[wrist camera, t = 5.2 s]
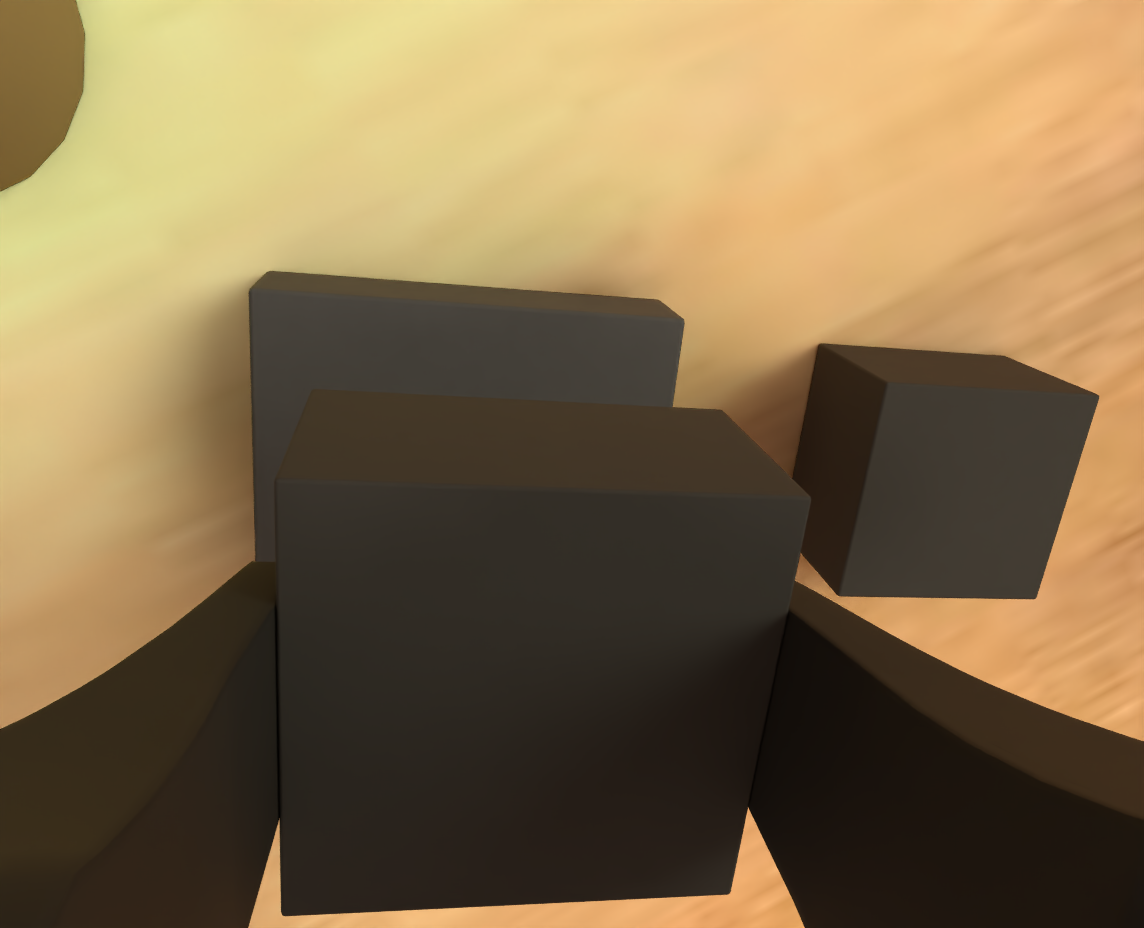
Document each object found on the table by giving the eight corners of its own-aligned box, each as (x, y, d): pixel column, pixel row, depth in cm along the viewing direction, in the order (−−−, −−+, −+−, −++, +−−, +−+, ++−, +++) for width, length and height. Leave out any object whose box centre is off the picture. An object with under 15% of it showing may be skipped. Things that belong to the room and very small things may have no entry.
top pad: (955, 536, 22) (1036, 600, 19) (780, 531, 21) (837, 597, 19) (1005, 355, 21) (1101, 395, 18) (818, 342, 20) (887, 381, 17)
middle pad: (668, 738, 15) (731, 896, 12) (311, 744, 14) (280, 918, 11) (722, 408, 13) (813, 496, 10) (310, 387, 12) (273, 479, 9)
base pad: (617, 628, 22) (634, 676, 20) (272, 626, 20) (257, 677, 18) (660, 299, 19) (686, 318, 17) (265, 269, 18) (247, 288, 16)
